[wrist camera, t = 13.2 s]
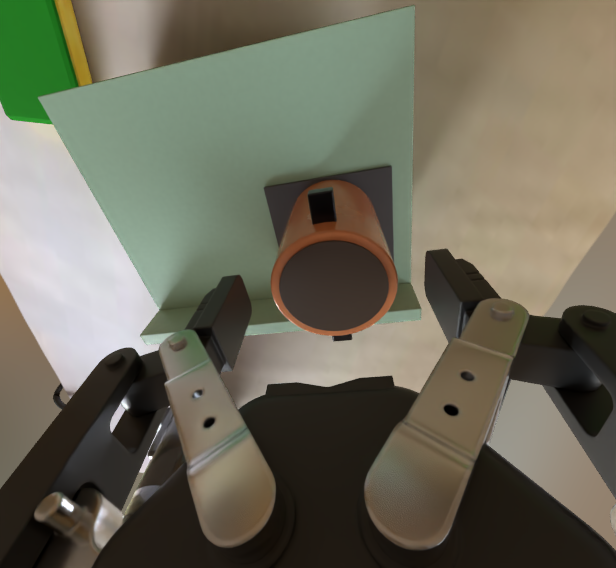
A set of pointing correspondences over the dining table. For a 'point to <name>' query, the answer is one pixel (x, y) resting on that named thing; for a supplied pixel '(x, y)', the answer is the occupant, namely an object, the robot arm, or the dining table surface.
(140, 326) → the dining table surface
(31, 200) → the dining table surface
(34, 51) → the dish sponge
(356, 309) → the copper pot
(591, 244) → the dining table surface
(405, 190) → the shelf
